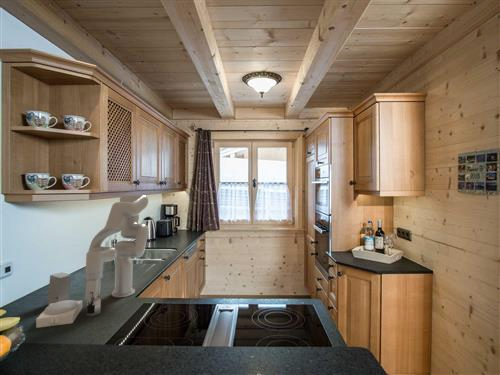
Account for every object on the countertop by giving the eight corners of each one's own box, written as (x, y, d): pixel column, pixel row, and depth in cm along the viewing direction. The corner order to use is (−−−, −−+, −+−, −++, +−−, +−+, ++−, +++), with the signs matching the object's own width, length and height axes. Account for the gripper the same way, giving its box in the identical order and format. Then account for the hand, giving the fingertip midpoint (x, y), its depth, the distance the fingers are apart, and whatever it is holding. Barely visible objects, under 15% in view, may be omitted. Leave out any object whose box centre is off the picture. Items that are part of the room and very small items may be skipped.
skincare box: (47, 304, 138) (47, 275, 138) (60, 299, 145) (61, 271, 145) (57, 307, 135) (58, 277, 135) (71, 302, 142) (71, 273, 142)
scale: (50, 311, 131) (50, 301, 131) (82, 307, 136) (82, 298, 136) (35, 328, 116) (35, 317, 116) (71, 323, 120) (72, 313, 120)
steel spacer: (88, 311, 133) (88, 297, 133) (101, 309, 135) (101, 296, 135) (85, 316, 127) (85, 302, 127) (99, 315, 129) (99, 301, 129)
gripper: (90, 270, 138) (89, 302, 137) (80, 281, 121) (79, 318, 121) (106, 269, 140) (105, 301, 140) (98, 280, 124) (97, 315, 123)
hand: (93, 308), depth 130 cm, fingers open, 9 cm apart
